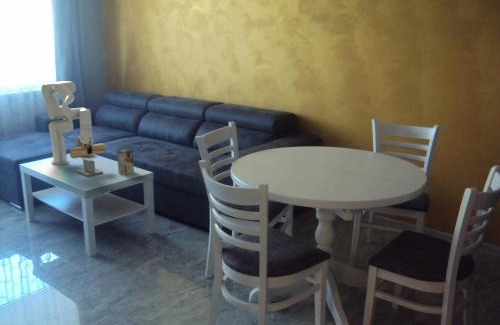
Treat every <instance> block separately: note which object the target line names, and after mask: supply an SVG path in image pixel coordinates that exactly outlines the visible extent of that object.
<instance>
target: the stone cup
mask: <svg viewBox="0 0 500 325" xmlns="http://www.w3.org/2000/svg"><path fill="white" fill-rule="evenodd" d="M76 138H77V139H76V143H77V147H82V146H83V143H81V141H80V135H78V137H76ZM89 145H90V143H89Z"/></svg>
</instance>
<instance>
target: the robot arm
mask: <svg viewBox="0 0 500 325" xmlns="http://www.w3.org/2000/svg"><path fill="white" fill-rule="evenodd" d="M76 89H77V88H76V84H75V83H74V82H73V81H71V80H70V81H69V80H68V81H67V80H66V81H54V82H45V83H43V84H42V85H41V95H42V97H43V98H44V99H43V100H44V101H45V106H46V111H47V115H48V118H49V119H50V120H55V121H51V122H50V123H49V124H48V130H49V134H50V139H51V149H52V160H51V164H52V165H65V164H69V163H70V159H68V155H67V147H66V146H67V145H66V139H65V137H64V135H62V134H64V133H65V134H66V133H70V132H72V131H74V123H73V120H79V127H80V128H79V129H80V130H79V136H80V141H81V143H83V146H88V148H87V151H88V154H91V153H92V146H93V145H94V137H93V131H92V129H93V127H92V118H91V117H92V114H91V113H92V112H91V110H90V109H89V108H85V107H75V108H74V107H73V108H70V107H69V106H68V105H70V104H72V103H73V102H74V100H75V98H76V97H75V95H74V93H75V92H76V91H77V90H76ZM55 95H58V97H59V98H60V99H61V100H62V102H61V105H59V100H58V98H57V97H56V96H55ZM60 119H62V120H60ZM89 143H90V144H89Z"/></svg>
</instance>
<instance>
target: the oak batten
mask: <svg viewBox="0 0 500 325" xmlns="http://www.w3.org/2000/svg"><path fill="white" fill-rule="evenodd" d="M87 148H88V146H82V147H78V146H77V147H71V148H69V157H70V158H72V159H78V158H83V157H84V158H85V157H89V156H93V155H98V154H103V153H106V144H105V143H102V142H101V143H95V144H94V143H93V146H92V153H91V154H88V151H87Z"/></svg>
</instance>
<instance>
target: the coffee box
mask: <svg viewBox="0 0 500 325" xmlns="http://www.w3.org/2000/svg"><path fill="white" fill-rule="evenodd" d="M116 153H117V157H116V158H117V167H118V168H117V170H118V174H119V175H124V176H125V175H127V174H128V175H129V174H132V173H134V172H135V169H134V167H135V166H134V152H133V150H132V149H127V148H125V149H123V150H119V151H116Z"/></svg>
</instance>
